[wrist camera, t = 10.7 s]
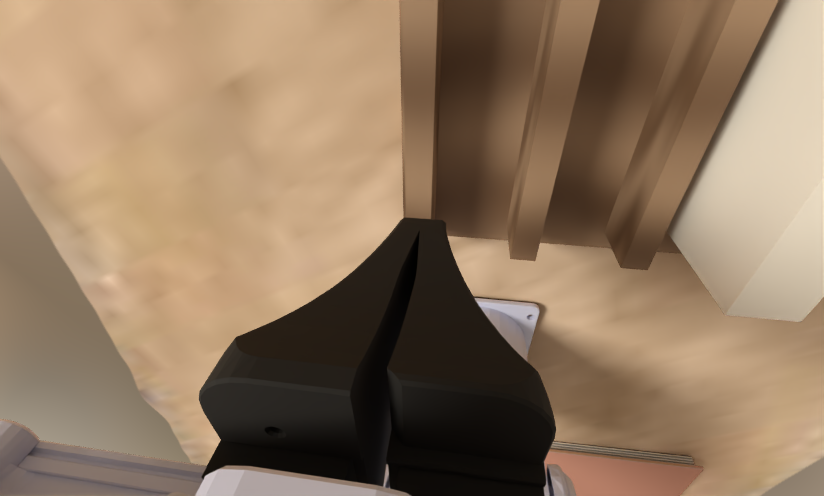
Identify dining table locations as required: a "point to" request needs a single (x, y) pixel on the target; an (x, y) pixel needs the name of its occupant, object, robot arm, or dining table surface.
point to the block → (764, 179)
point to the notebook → (622, 470)
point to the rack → (565, 115)
